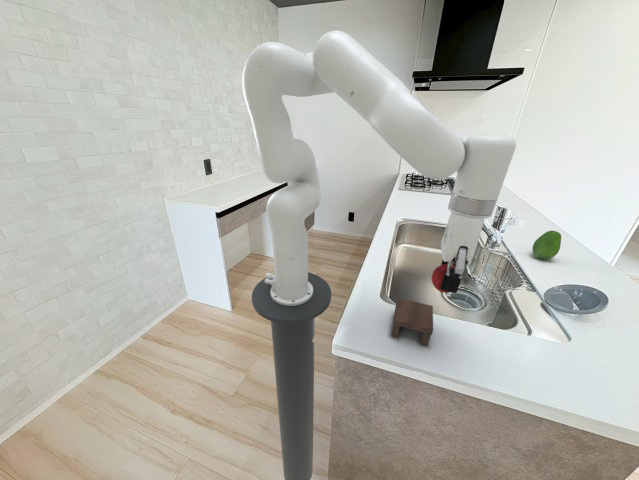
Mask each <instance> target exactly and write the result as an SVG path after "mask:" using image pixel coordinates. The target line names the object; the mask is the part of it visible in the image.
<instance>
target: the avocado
mask: <svg viewBox="0 0 639 480" xmlns="http://www.w3.org/2000/svg"><path fill="white" fill-rule="evenodd" d="M561 243H562V233H560V232H558V231H556V230H548V231H545V232H544V233H543V234H541V235H540V236H539V237H538V238H537V239H535V241H534V242H533V244H532V248H531V249H532V255H533V256H534V257H536V259H538V260H543V261H546V260H550V259H553V258H554V257H556V255H558V254H559V251H560V250H561Z"/></svg>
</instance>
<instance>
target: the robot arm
mask: <svg viewBox="0 0 639 480" xmlns="http://www.w3.org/2000/svg"><path fill="white" fill-rule="evenodd" d="M241 81H242V82H241V85H242V92H243V97H244V101H245V105H246V108H247V111H248V114H249V117H250V119H251V124H252V128H253V132H254V133H253V134H254V138H255V142H256V147H257V151H258V155H259V159H260V164H261V167H262V170H263V174H264V175H265V177H266V179H267V180H269V181H270V182H271V183H274V184H283V183H287V185H286V186H284V187H282V188H280V189H278V190H276V191H275V192H273V194H271V196H270V197H269V198H268V200H267V202H266V207H265V210H266V211H265V212H266V216H267V220H268V224H269V229H270V234H271V245H272V254H273V270H274V273H271V272H265V275H264V278H266V279H265V283H267V284H271V285H272V288H271V297H272V299H273V300H274V301H275V302H276V303H278V304H281V305H285V306H296V305H300V304H303V303H305V302H307V301H308V300H309V299H310V298H311V297H312V295H313V287H312V285H311V283H309V282H308V272H309V238H308V231H307V228H306V225H305V221H306V218H308V217H309V216H310V215H311V214H313V213H314V212H315V211H316V210H317V209H318V208H319V206H320V203H321V198H322V197H321V196H322V195H321V187H320V180H319V175H318V168H317V162H316V157H315V154H314V152H313V150H312V148H311V147H310V144H308V143H307V142H306V141H304V140H303V139H300V138H294V134H293V130H292V122H291V117H290V114H289V112H288V110H287V107H286V106H285V103H284V101H283V96H284V95H285V96H289V97H290V96H291V97H297V98H305V97H313V96H320V95H327V94H331V93H335V94H336V95H337V96H338V97H340V98H341V99H342V100H343V101H344V102H345V103H346V104H347V105H349V107H351V108H352V109H353V110H354V111H355V112H356V113H357V114H358V115H359V116H360V117H362V118H363V119H364V120H365V121H366V122H367V124H368V125H370V127H371V128H372V129H373V130H374V131H375V132H376V133H377V134H378V135H379V136H380V137H381V138H382V140H383V141H384V142H385V143H386V144H387V145H388V146H389V147H390V148H391V149H392V150H393V151H394V152H395V153H397V154H398V155H399V156H400V157H401V158H402V159H403V160H404V161H405V162H407V164H409V166H411V167H412V168H414V170H415V171H417V172H418V173H419V174H420V175H421V176H424V177H426V178H427V179H432V180H443V179H446V178H450V176H452V175H454V174H455V173H456V177H455V181H454V184H453V187H452V192H451V195H450V199H449V203H448V205H447V210H448V211H450V214H449V217H448V219H447V223H446V226H445V229H444V232H443V236H442V238H441V242H440V250H441V251H440V252H441V259H442V260H441V264H440V265H444V264H447V263H448V262H449V263H448V267H447V272H446V273H444V276H443V279H442V283H441V286H440V289H441V290H443V291H447V292H448V293H452V294H457V293H458V290H459V287H460V285H461V283H462V279H463V274H464V272H465V267H468V266H470V265H471V263H472V261H473V258H474V256H475V253H476V250H477V247H478V243H479V241H480V237H481V233H482V231H483V227H484V223H485V219H490V218H491V217H492V216H493V213H494V210H495V208H496V205H497V202H498V200H499V199H498V198H499V196H500V194H501V190H502V187H503V185H504V182H505V179H506V176H507V173H508V170H509V167H510V165H511V162H512V159H513V157H514V153H515V151H516V147H517V141H516V139H515V138H514V137H513V136H510V135H506V134H495V133H475V134H471V133H470V134H469V133H463V132H459V131H453V130H450V128H448V127H447V126H446V125H444V123H443V122H442V121H440V120H439V119H438V118H437V117H436V116H434V115H433V114H432V113H431V112H430V111H429V110H428V109H427V108H426V107H424V106H423V105H422V104H421V103H420V101H418V100H417V99H416V98H415V97H414V96H413V94H412V93H411V92H410V91H409V90H408V88H407V86H406V85H405V84H404V83H403V82H402V81H401V80H400V78H399V77H397V76H396V75H395V74H394V73H393V72H392V71H390V69H389V68H388V67H386V66H384V65H383V63H382V62H380V61H379V60H378V59H377V58H376V57H375V56H374V55H373V54H371V53H370V52H369V51H368V50H367V49H366V48H365V47H363V45H361V44H360V42H358V41H357V40H356V39H354V37H352V36H351V35H350V34H349V33H348V32H347V33H346V32H345V31H342V30H338V29H337V30H330V31H328V32H326V33H324V34H323V35H322V36H321V37H320V38H319V39H318V40H317V42H316V44H315V46H314V49H313V51H310V52H302V51H299V50H297V49H295V48H293V47H291V46H289V45H287V44H284V43H281V42H277V41H267V42H263V43H260V44H258V45H257V46H256V47H255V48H254V49H253V50H251V52H250V53H249V55H248V57H247V58H246V61H245V63H244V67H243V71H242V79H241ZM452 264H454V266H455V268H452V269H451V267H452ZM274 274H275V275H274ZM460 282H461V283H460Z"/></svg>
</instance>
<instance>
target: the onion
mask: <svg viewBox="0 0 639 480" xmlns="http://www.w3.org/2000/svg"><path fill="white" fill-rule="evenodd" d="M448 263H449V262H448ZM448 263H447V264H444V265H441V264H440V265H438V266H437V267H436V268H434V270H433V272H432V274H431V282H432V285H433V287H434V288H435V289H436V290H437V291H439V292H440V293H442V294H444V293H445V294H448V293H449V292H447V291H443V290H441V289H440V286H441V283H442V279H443V276H444V273H446V272H447V267H448ZM452 268H455V266H454V264H452V267H451V269H452ZM461 283H462V281H461V282H460V284H461Z"/></svg>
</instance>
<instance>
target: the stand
mask: <svg viewBox="0 0 639 480" xmlns="http://www.w3.org/2000/svg"><path fill="white" fill-rule="evenodd" d="M392 319H393V320H392V329H391V333H390V337H392V338H395V339H398V337H399V333H400V328H406V329H408V330H413V331H417V332H420V342H419V343H420V346H424V347H428V345H429V342H430V340H431V337H432V335H433V331H434V306H433V305H430V304H427V303H422V302H418V301H414V300H410V299H406V298H402V297H396V302H395V306H394V313H393V318H392Z"/></svg>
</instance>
